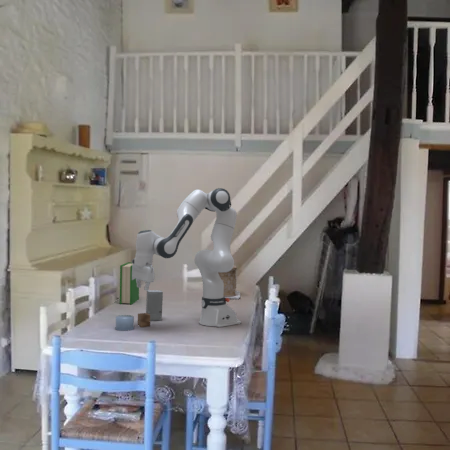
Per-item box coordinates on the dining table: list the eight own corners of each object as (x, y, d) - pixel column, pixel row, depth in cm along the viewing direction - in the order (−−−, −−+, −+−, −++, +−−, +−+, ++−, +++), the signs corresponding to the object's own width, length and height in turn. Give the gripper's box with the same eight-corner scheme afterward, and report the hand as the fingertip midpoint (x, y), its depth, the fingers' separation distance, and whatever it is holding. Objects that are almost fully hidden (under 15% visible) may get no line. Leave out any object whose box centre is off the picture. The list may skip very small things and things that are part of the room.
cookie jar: (240, 299, 359) (241, 251, 357) (203, 298, 359) (204, 250, 358) (240, 293, 384) (241, 248, 382) (205, 292, 384) (206, 247, 382)
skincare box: (147, 321, 291) (147, 291, 291) (145, 318, 298) (145, 289, 298) (162, 320, 294) (163, 291, 293) (160, 317, 301) (161, 289, 300)
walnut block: (146, 324, 285) (146, 312, 285) (150, 326, 281) (150, 314, 280) (137, 325, 283) (137, 313, 282) (140, 327, 278) (141, 315, 278)
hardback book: (131, 304, 334) (131, 265, 333) (119, 304, 335) (120, 265, 334) (138, 299, 352) (139, 262, 351) (127, 298, 353) (128, 262, 351)
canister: (130, 325, 281) (130, 314, 281) (136, 329, 273) (136, 318, 272) (112, 327, 276) (112, 315, 276) (118, 331, 268) (118, 319, 268)
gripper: (158, 264, 270) (157, 291, 270) (141, 259, 287) (140, 285, 287) (146, 264, 266) (145, 292, 267) (130, 259, 284) (129, 286, 284)
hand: (142, 288), depth 277 cm, fingers open, 8 cm apart
